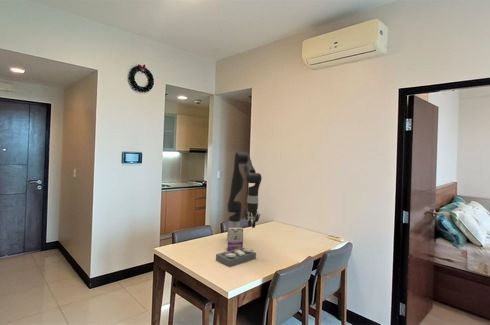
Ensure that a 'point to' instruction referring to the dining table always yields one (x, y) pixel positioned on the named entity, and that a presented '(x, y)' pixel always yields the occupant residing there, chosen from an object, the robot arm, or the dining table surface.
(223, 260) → the grey control panel
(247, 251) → the rocker
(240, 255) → the rocker
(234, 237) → the candy bar box
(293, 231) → the dining table surface
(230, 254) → the rocker
